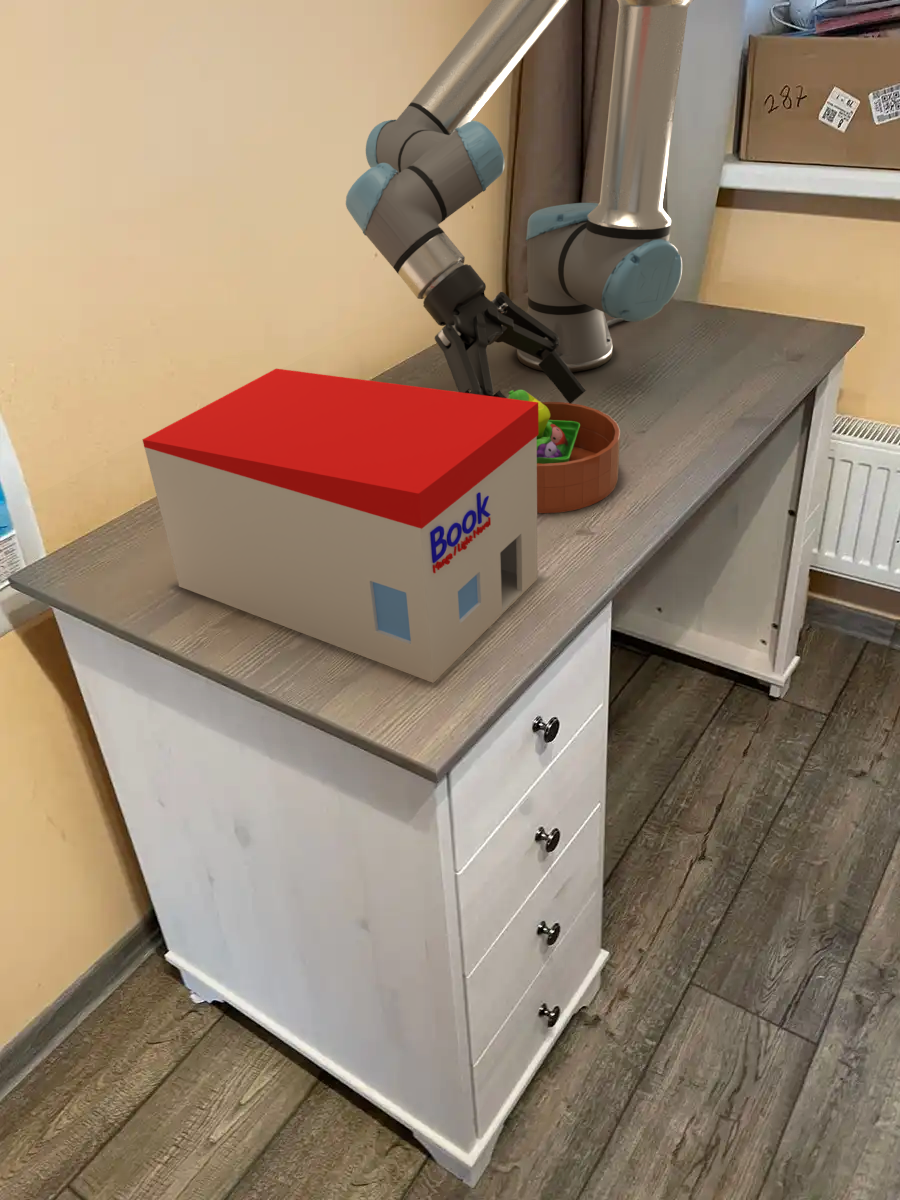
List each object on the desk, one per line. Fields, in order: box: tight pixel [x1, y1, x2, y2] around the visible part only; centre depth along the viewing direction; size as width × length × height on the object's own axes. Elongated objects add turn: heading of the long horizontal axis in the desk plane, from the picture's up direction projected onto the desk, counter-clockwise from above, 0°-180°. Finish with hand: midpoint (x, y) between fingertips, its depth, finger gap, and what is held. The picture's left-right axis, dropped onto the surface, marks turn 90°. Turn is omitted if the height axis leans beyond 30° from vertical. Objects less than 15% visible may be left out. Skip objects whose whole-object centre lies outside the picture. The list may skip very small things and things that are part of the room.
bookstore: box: [142, 368, 539, 684], centre depth 108 cm, size 21×35×21 cm, turn 57°
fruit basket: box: [507, 389, 580, 464], centre depth 127 cm, size 11×9×11 cm
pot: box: [537, 401, 621, 514], centre depth 129 cm, size 18×18×6 cm
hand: (553, 418), depth 126 cm, fingers open, 13 cm apart
